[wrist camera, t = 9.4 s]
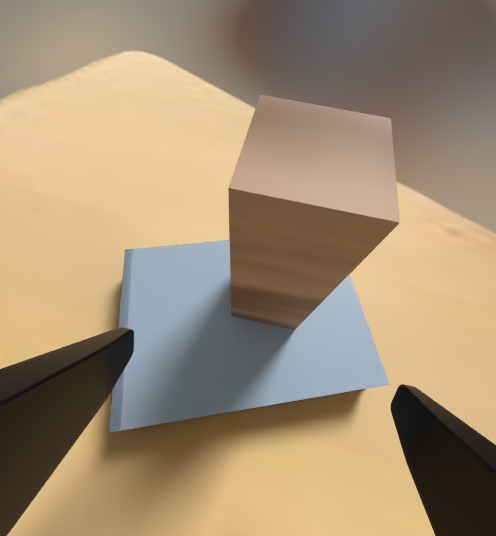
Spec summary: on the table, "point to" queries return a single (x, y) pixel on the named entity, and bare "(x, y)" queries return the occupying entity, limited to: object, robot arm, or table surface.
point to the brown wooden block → (306, 206)
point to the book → (226, 343)
